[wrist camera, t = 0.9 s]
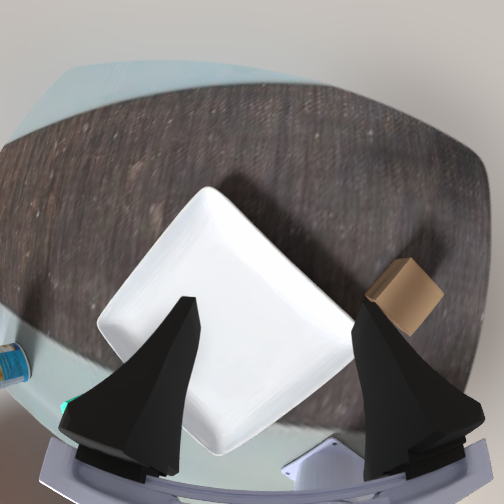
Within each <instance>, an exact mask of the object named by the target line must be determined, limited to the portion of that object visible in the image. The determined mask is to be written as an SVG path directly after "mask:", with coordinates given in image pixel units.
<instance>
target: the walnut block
mask: <svg viewBox="0 0 504 504" xmlns="http://www.w3.org/2000/svg"><path fill="white" fill-rule="evenodd" d="M364 295H365V296H366V297H367V298H368V299H369V300H370V301H371V302H376V304H377V305H378V306H379V307H380V309H381V310H382V311H383V312H384V314H385V315H386V316H387V317H388V319H389V320H390V321H391V322H392V323H393V324H394V325H395V326H396V327H398V328H399V329H401V330H402V331H403V332H405V333H406V334H408V335H409V336H411V335H412V334H413V333H414V332H415V330H416V329H417V328H418V327H419V326H420V324H421V323H422V322H423V321H424V320H425V318H426V317H427V316H428V315H429V313H430V312H431V311H432V310H433V308H434V307H435V306H436V305H437V303H438V302H439V301H440V299H441V298H442V297H443V295H444V293H443V292H442V291H441V290H440V289H439V288H438V286H437V285H436V284H435V283H434V282H433V281H432V280H431V278H430V277H429V276H428V275H427V274H426V273H425V272H424V271H423V270H422V269H421V267H420V266H419V265H418V264H417V263H416V262H415V261H414V260H413V259H412V258H411V257H409V258H402V259H395V260H393V261H392V263H391V264H390V265H389V266H388V268H387V269H386V270H385V271H384V272H383V274H382V275H381V276H380V277H379V278H378V279H377V281H376V282H375V283H374V284H373V285H372V286H371V287H370V289H369V290H368V291H367V292H366V293H365V294H364Z"/></svg>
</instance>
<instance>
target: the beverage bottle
mask: <svg viewBox="0 0 504 504" xmlns="http://www.w3.org/2000/svg"><path fill="white" fill-rule="evenodd" d="M29 379H30V366H29V362H28V359H27V356H26V354H25V352H24V350H23V349H22V347H21V346H20V345H19V344H17V343H12V344H8V345H2V346H0V389H1V388H5V387H8V386H12V385H15V384H19V383H22V382H26V381H28V380H29Z"/></svg>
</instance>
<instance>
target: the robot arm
mask: <svg viewBox="0 0 504 504" xmlns="http://www.w3.org/2000/svg"><path fill="white" fill-rule="evenodd" d="M200 333H201V324H200V318H199V313H198V307H197V301H196V297H189V296H182V297H180V299H179V300H178V301H177V303H176V304H175V306H174V307H173V308H172V310H171V311H170V312H169V314H168V315H167V316H166V318H165V319H164V320H163V322H162V323H161V324H160V325H159V327H158V328H157V329H156V330H155V332H154V333H153V334H152V335H151V336H150V337H149V338H148V340H147V341H146V342H145V343H144V344H143V345H142V346H141V347H140V348H139V350H138V351H137V352H136V353H135V354H134V355H133V356H132V357H131V358H130V359H128V360H127V361H126V362H125V363H124V364H123V365H122V366H121V367H120V368H118V369H117V370H116V371H115V372H114V373H113V374H111V375H110V376H109V377H108V378H106V379H105V380H103V381H102V382H101V383H99V384H98V385H96V386H95V387H94V388H92V389H91V390H89V391H88V392H86V393H84V394H82V395H81V396H79V397H77V398H76V399H74V400H72V401H70V402H68V404H67V406H66V408H65V410H64V413H63V416H62V419H61V421H60V424H59V427H58V429H59V431H60V432H61V433H63V434H64V435H66V436H67V437H69V438H70V439H72V440H73V441H75V442H76V443H78V444H79V446H78V449H76V448H74V447H73V446H70V445H68V444H66V443H64V442H62V441H60V440H58V439H56V438H54V437H51V440H50V443H49V446H48V449H47V452H46V455H45V459H44V462H43V466H42V469H41V473H40V477H39V481H40V482H41V483H43V484H44V485H46V486H47V487H49V488H51V489H52V490H54V491H56V492H57V493H59V494H61V495H62V496H64V497H66V498H68V499H69V500H71V501H73V502H75V503H76V504H189V503H183V502H181V501H180V500H179V498H178V497H176V496H179V497H184V498H190V499H196V500H203V501H210V502H218V503H228V504H455V503H457V502H458V501H460V500H462V499H463V498H465V497H466V496H468V495H469V494H471V493H473V492H474V491H476V490H477V489H479V488H480V487H482V486H484V485H485V484H487V483H488V482H490V481H491V480H492V479H493V474H492V467H491V462H490V457H489V452H488V448H487V444H486V439H485V438H484V439H481V440H480V441H478V442H476V443H474V444H471V445H469V446H468V447H466V448H464V446H463V444H464V443H465V442H466V438H465V435H467V434H468V433H470V432H472V431H473V430H474V429H476V428H477V427H479V426H480V425H481V424H482V423H483V422H484V420H485V416H484V413H483V410H482V407H481V404H480V403H479V402H477V401H476V400H474V399H472V398H471V397H469V396H467V395H466V394H464V393H463V392H461V391H460V390H458V389H457V388H455V387H454V386H453V385H451V384H450V383H449V382H447V381H446V380H445V379H444V378H443V377H441V376H440V375H439V374H438V373H437V372H436V371H435V370H433V369H432V368H431V367H430V366H429V365H428V364H427V363H426V362H425V361H424V360H423V359H422V358H421V357H420V356H419V355H418V354H417V352H416V351H415V350H414V349H413V348H412V347H411V346H410V345H409V343H408V342H407V341H406V340H405V339H404V337H403V336H402V335H401V334H400V333H399V331H398V330H397V329H396V328H395V326H394V325H393V324H392V323H391V321H390V320H389V319H388V317H387V316H386V315H385V314H384V312H383V311H382V310H381V309H380V307H379V306H378V305H377V304H376V302H363V303H362V305H361V308H360V310H359V313H358V316H357V318H356V321H355V323H354V325H353V328H352V330H351V338H352V347H353V353H354V358H355V362H356V366H357V371H358V375H359V379H360V384H361V388H362V393H363V399H364V410H365V429H366V443H365V460H364V459H363V458H362V457H360V456H359V455H357V454H356V453H355V452H353V451H352V450H350V449H349V448H348V447H346V446H345V445H344V444H342V443H341V442H340V441H338V440H337V439H336V438H334V437H330V438H328V439H327V440H325V441H324V442H322V443H321V444H320V445H318V446H317V447H315V448H314V449H312V450H311V451H309V452H308V453H306V454H304V455H303V456H301V457H300V458H298V459H296V460H295V461H293V462H291V463H290V464H288V465H286V466H285V467H283V468H282V469H281V472H282V473H283V474H284V475H286V476H287V477H289V478H290V479H292V480H293V481H295V484H294V490H293V491H246V490H231V489H220V488H212V487H204V486H197V485H191V484H185V483H180V482H175V481H170V480H165V479H161V478H159V476H163V477H166V476H167V475H169V476H174V475H176V474H177V473H178V472H179V456H180V441H181V430H182V420H183V412H184V405H185V398H186V393H187V389H188V385H189V381H190V378H191V374H192V370H193V366H194V363H195V359H196V355H197V351H198V347H199V341H200ZM333 443H336V444H333ZM287 472H290V473H287Z"/></svg>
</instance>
